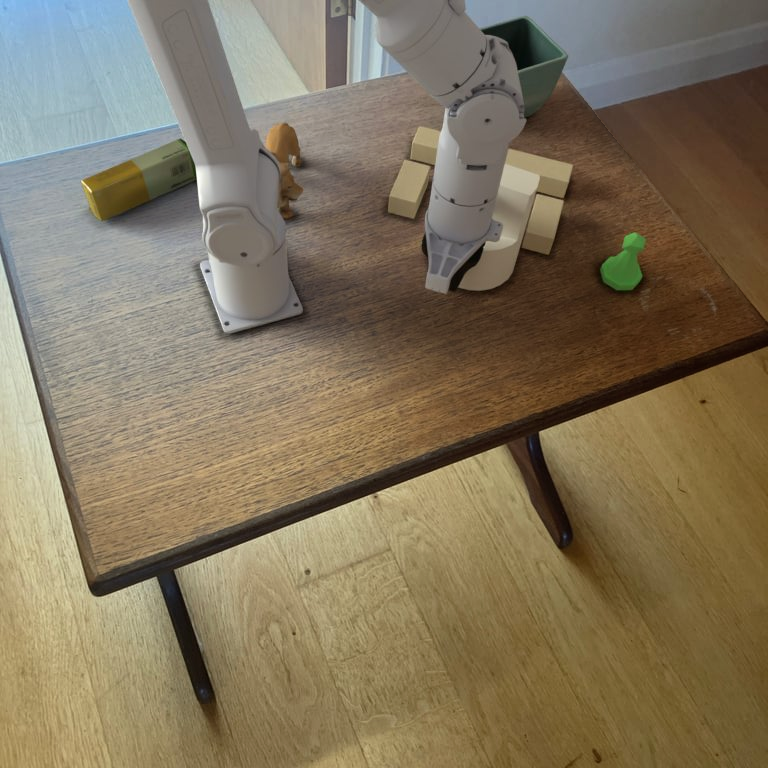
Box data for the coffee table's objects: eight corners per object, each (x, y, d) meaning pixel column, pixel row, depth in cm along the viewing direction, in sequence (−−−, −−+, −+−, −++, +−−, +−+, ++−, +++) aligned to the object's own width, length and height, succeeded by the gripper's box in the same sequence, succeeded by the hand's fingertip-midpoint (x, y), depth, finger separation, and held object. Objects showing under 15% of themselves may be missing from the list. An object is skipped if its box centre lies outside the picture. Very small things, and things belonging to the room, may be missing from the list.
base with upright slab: (525, 243, 88) (551, 156, 78) (498, 302, 83) (522, 218, 73) (447, 216, 90) (463, 127, 80) (417, 272, 85) (429, 185, 75)
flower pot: (453, 97, 101) (463, 31, 93) (512, 79, 103) (527, 13, 96) (490, 141, 97) (504, 76, 89) (552, 121, 99) (570, 56, 92)
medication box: (188, 166, 91) (181, 136, 88) (200, 178, 90) (194, 148, 87) (88, 210, 87) (78, 179, 83) (100, 223, 85) (90, 192, 82)
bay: (548, 255, 87) (554, 239, 85) (387, 212, 89) (389, 195, 87) (568, 181, 94) (573, 164, 92) (417, 142, 96) (419, 125, 94)
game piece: (636, 296, 85) (656, 257, 80) (596, 284, 86) (613, 245, 81) (643, 266, 87) (662, 227, 82) (603, 255, 88) (620, 215, 83)
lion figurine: (305, 244, 86) (303, 179, 79) (254, 245, 86) (247, 180, 78) (302, 148, 94) (300, 82, 87) (255, 149, 94) (249, 81, 86)
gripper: (492, 254, 66) (467, 351, 77) (528, 141, 74) (501, 244, 85) (408, 232, 67) (396, 331, 78) (452, 122, 75) (436, 227, 86)
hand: (446, 285), depth 82 cm, fingers closed
